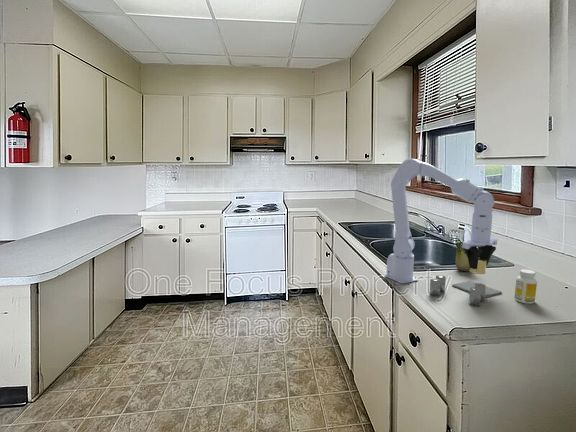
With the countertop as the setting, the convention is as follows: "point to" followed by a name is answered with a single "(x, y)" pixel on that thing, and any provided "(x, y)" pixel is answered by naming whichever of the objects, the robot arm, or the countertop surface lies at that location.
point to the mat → (469, 284)
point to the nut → (480, 267)
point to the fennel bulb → (461, 259)
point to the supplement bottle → (526, 287)
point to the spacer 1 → (434, 287)
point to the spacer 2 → (441, 282)
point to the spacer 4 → (482, 287)
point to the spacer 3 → (475, 296)
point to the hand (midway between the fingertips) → (478, 267)
